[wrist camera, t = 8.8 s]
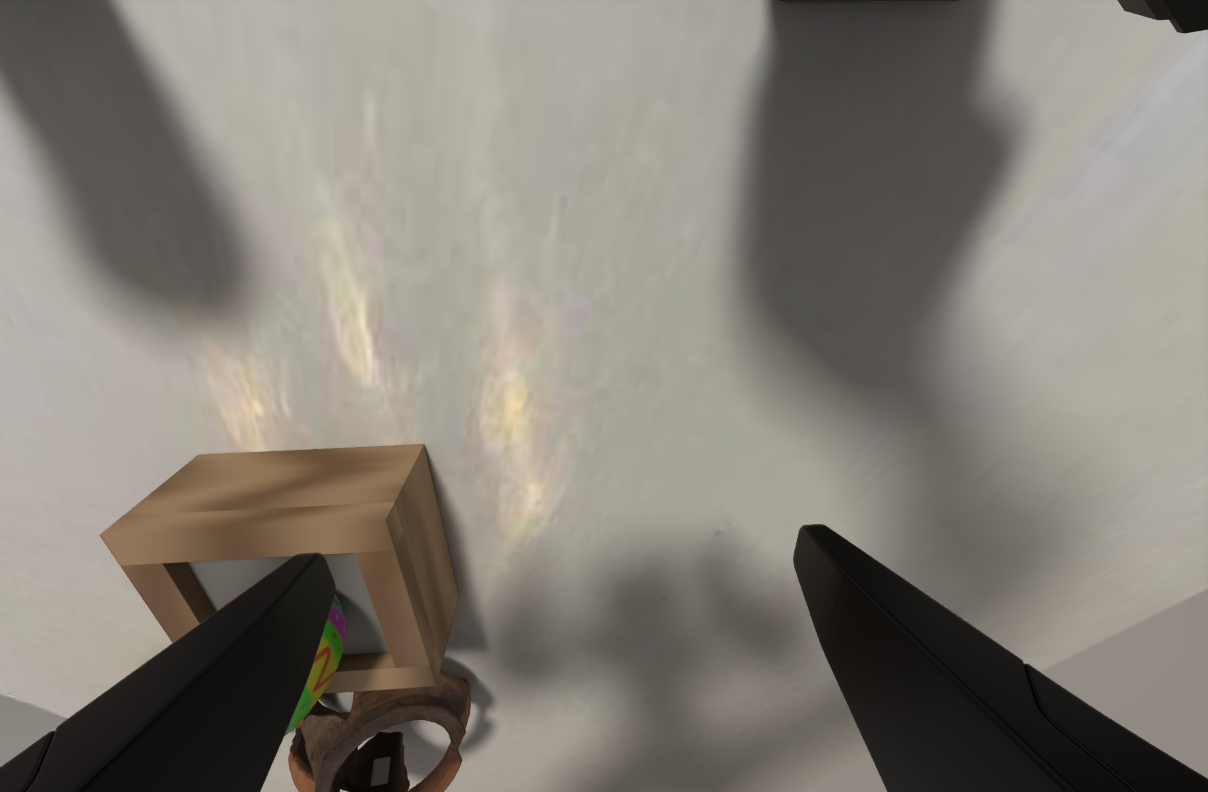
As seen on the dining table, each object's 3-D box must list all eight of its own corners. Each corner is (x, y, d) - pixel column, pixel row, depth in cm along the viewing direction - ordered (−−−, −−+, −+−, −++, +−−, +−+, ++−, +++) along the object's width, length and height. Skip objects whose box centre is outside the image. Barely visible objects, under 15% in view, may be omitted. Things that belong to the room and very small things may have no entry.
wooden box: (423, 444, 22) (385, 520, 17) (459, 595, 26) (436, 686, 22) (198, 454, 21) (99, 535, 17) (274, 606, 26) (212, 700, 21)
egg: (256, 641, 21) (148, 808, 16) (220, 561, 19) (81, 723, 13) (370, 639, 21) (303, 802, 16) (349, 560, 19) (262, 718, 14)
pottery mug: (283, 630, 28) (273, 746, 21) (449, 584, 32) (486, 665, 26) (304, 793, 30) (302, 945, 23) (455, 728, 35) (490, 838, 28)
